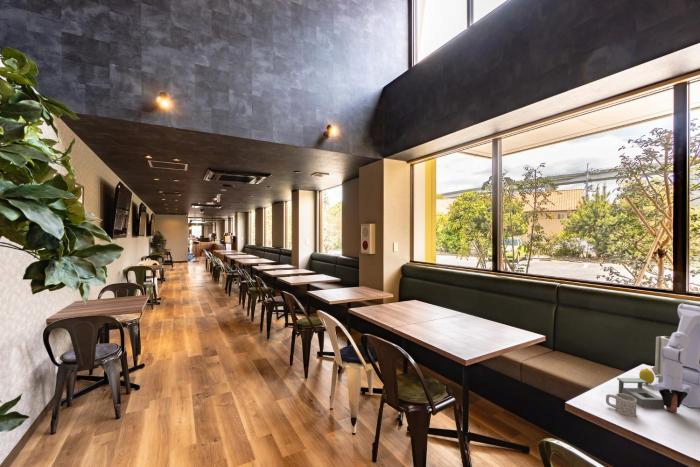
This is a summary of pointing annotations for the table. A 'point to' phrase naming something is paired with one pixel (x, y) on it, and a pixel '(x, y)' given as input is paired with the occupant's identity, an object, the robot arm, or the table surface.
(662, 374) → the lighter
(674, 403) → the peg
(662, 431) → the table surface
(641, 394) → the socket block
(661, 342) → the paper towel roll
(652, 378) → the lemon
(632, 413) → the mug
